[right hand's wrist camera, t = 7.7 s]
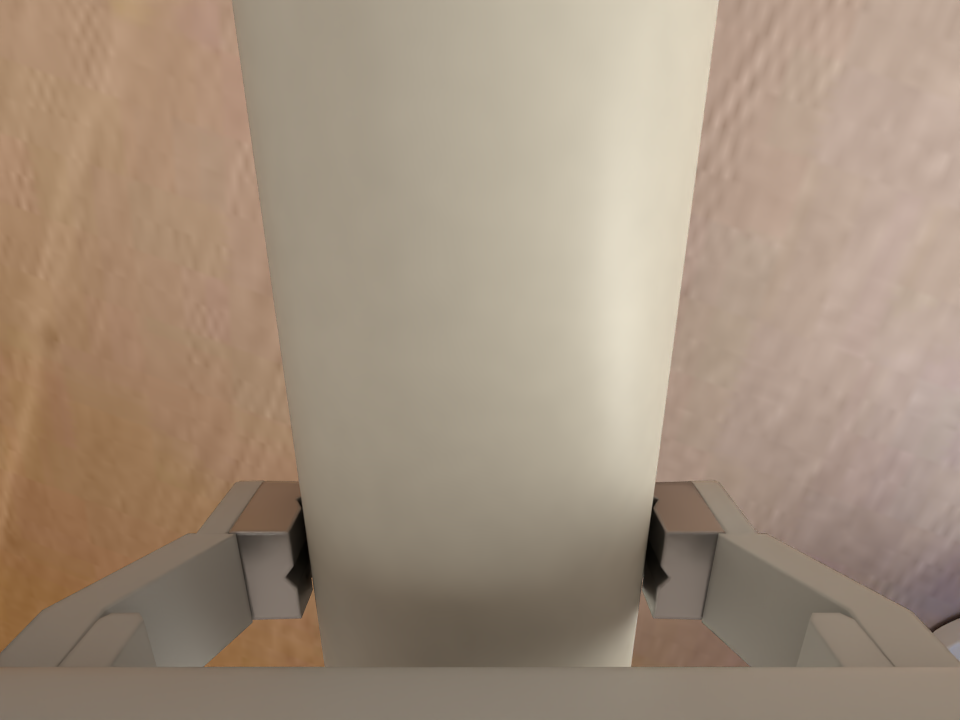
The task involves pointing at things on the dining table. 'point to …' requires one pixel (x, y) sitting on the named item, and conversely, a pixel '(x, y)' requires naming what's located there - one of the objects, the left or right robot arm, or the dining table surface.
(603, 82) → the rod
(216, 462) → the dining table surface
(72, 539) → the dining table surface
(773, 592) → the right robot arm
